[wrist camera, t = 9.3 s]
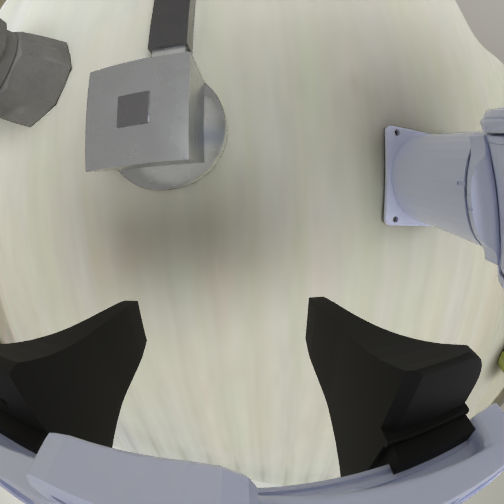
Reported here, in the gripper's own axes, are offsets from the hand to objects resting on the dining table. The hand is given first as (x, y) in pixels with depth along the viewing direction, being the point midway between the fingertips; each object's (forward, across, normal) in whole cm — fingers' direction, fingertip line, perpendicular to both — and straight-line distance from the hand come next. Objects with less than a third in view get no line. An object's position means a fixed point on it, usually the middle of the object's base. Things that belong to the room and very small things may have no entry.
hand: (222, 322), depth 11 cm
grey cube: (+7, +4, -9) cm, 13 cm away
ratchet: (+10, +4, -16) cm, 19 cm away
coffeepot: (+10, +19, -18) cm, 28 cm away
